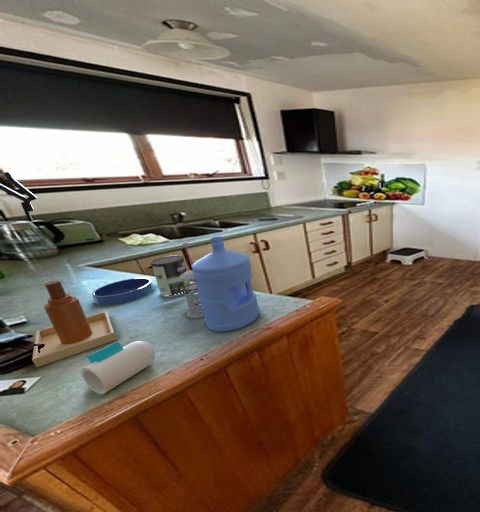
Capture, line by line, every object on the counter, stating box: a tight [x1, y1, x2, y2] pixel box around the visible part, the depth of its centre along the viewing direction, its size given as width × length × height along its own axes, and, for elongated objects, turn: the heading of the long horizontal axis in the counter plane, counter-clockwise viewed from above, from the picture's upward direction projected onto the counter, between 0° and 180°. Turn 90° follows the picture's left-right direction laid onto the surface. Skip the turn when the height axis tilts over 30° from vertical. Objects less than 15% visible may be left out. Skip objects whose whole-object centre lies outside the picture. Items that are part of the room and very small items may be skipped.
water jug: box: [191, 236, 260, 332], centre depth 85 cm, size 16×16×28 cm
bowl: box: [91, 277, 155, 306], centre depth 107 cm, size 17×17×4 cm
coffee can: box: [150, 255, 191, 298], centre depth 108 cm, size 10×10×14 cm
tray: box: [31, 310, 118, 368], centre depth 81 cm, size 15×19×2 cm
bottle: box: [43, 280, 92, 344], centre depth 78 cm, size 6×6×18 cm
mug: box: [80, 340, 156, 395], centre depth 66 cm, size 12×9×12 cm
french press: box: [180, 242, 205, 319], centre depth 93 cm, size 10×12×25 cm
